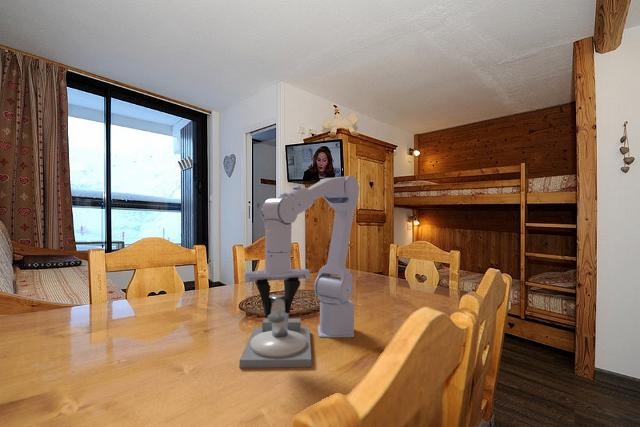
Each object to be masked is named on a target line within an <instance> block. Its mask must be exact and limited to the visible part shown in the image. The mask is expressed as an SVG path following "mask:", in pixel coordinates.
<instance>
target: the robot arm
mask: <svg viewBox="0 0 640 427" xmlns="http://www.w3.org/2000/svg"><path fill="white" fill-rule="evenodd" d="M359 194H360V186H359V183H358V180H357V178H356V177H355V176H354V175H346V176H337V177H336V176H335V177H324V178H322V179H321V178H320V180H319V181H318V182H316V183H314V184H313V185H311V186H308V187H305V186H301V185H296V186H295V185H294V186H293V187H292V190H290V191H288V192H281V193H280V194H279V196H278V197H274V198H273V197H272V198H268V199H266V200H265V201H264V203H263V204H262V207H261V209H259V213H260V218H261V219H262V221H263V228H264V230H265V240H264V241H265V242H264V243H265V244H264V245H265V248H264V252H265V253H264V269H263V270H255V271H244V272H243V283H244V284H250V283H253V282H254V283H255V285H256V288H257V290H258V292H259V296H260V299H261V303H262V307H263V314H264V315H265V316H267V317H268V315H269V296H271V295H270V292H271V287H272V286H271V285H270V282H269V281H283V286H284V295H285V296H286V313H288V314H290V313H291V308H292V304H293V301H294V298H295V296H296V294H297V291H298V289H299V287H300V286H301V281H300V280H301V279H305V280H309V279H311V278H310V277H311V273H310V272H311V270H310V269H307V268H302V269H300V268H299V269H298V268H297V269H296V268H292V267H291V266H292V264H291V263H292V224H293V223H294V222H295V221H296V220H297V218H298V215H299V214H302V213H303V212H306V211H307V210H309V209H311V207H313V205H314V202H315V200H318V199H320V198H322V197H323V198H324V200H325V201H326V202H327V204H328V205H329V206H330V207H331V208H332V209H334V211H335V215H334V216H335V217H334V221H333V226H332V227H333V228H332V233H331V240H330V245H329V250H328V257H327V261H326V264H325V265H323V266H322V267H321V268H320V269H319V270H318V273H317V274H318V275H317V277H316V279H315V281H314V284H313V289H314V293H315V295H316V296H317V299H318V300H319V324H318V325H317V332H318V337H319V338H355V334H354V333H355V307H354V302H353V300H350V299H351V296H352V295H353V291H354V290H353V288H354V287H353V278H354V277H353V276H354V275H353V274H352V273H351V272H350V270H348V268H347V267H346V264H347V257H348V252H349V244H350V237H351V233H352V226H353V220H354V213H355V209H356V207H357V206H358V201H359V200H358V199H359ZM338 276H339V277H338Z"/></svg>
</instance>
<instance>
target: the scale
mask: <svg viewBox="0 0 640 427" xmlns="http://www.w3.org/2000/svg"><path fill="white" fill-rule="evenodd" d="M261 324H262V325H261V326H254V327H253V330H252V331H251V333H250V336H249V338H248V341H247V343H246V345H245V348H244V349H243V352H242V354H241V356H240V358H239V364H238V365H239V369H245V368H246V369H247V368H249V369H250V368H251V369H252V368H253V369H255V368H260V369H261V368H311V367H312V349H311V347H312V345H311V334H310V333H311V332H310V328H311V327H310V326H301V318H288V335H287V336H285V337H273V336H272V322H269V321H268V318H263V320H262V322H261Z"/></svg>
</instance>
